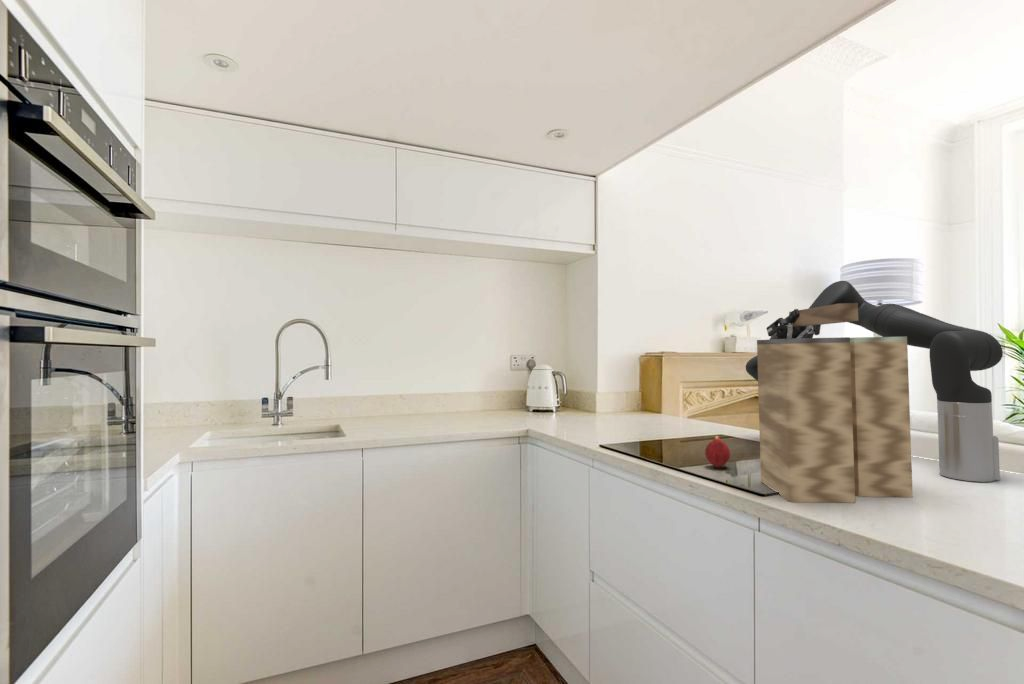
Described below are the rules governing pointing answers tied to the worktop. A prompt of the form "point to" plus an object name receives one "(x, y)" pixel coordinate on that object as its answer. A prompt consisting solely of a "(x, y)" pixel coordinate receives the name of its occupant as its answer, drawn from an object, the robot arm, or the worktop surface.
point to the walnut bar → (828, 314)
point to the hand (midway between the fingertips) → (806, 311)
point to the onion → (717, 452)
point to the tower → (881, 417)
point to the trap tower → (806, 418)
